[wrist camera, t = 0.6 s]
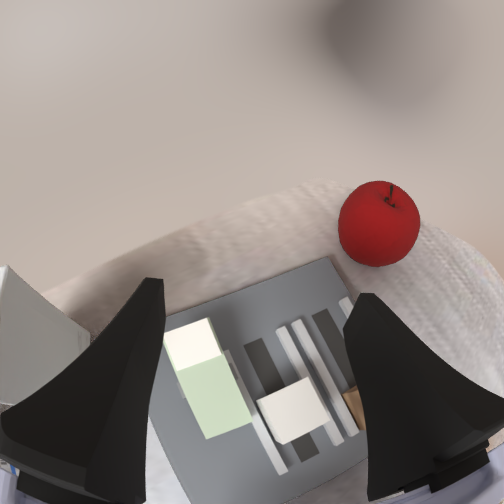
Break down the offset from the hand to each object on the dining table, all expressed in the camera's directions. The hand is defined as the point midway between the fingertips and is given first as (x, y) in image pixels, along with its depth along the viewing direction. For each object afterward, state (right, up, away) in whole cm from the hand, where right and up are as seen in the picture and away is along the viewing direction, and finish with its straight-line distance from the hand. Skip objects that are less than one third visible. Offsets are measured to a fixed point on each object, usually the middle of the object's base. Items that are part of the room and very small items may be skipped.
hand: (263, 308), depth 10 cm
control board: (+2, -11, +14) cm, 17 cm away
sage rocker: (-4, -8, +11) cm, 14 cm away
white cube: (+2, -11, +12) cm, 17 cm away
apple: (+13, +3, +23) cm, 27 cm away
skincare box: (-18, -10, +12) cm, 24 cm away
